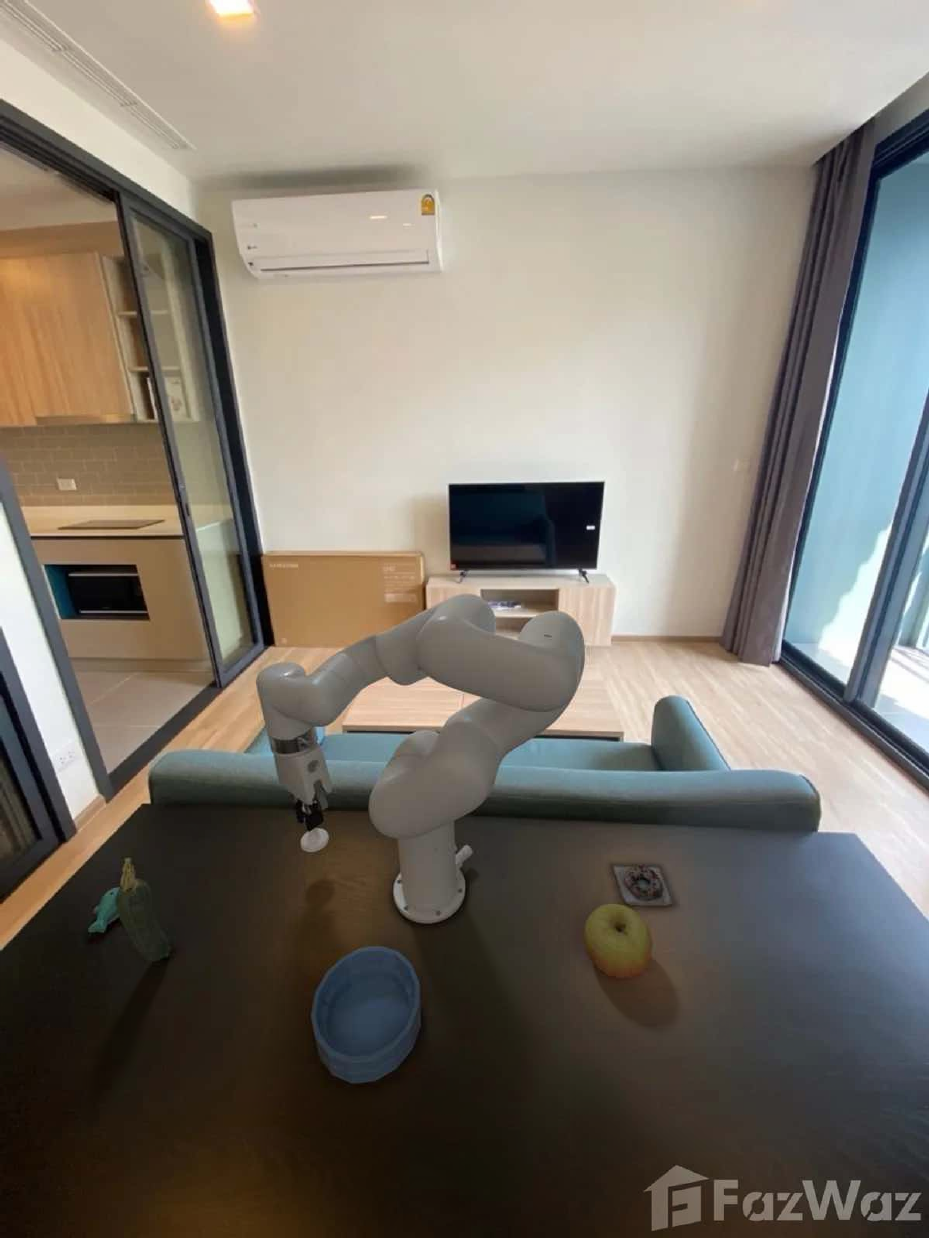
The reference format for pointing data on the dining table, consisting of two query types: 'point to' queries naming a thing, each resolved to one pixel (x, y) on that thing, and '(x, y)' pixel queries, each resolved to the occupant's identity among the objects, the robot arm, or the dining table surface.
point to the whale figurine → (105, 912)
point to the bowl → (367, 1014)
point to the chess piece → (314, 839)
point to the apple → (618, 941)
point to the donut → (642, 886)
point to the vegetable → (140, 915)
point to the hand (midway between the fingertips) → (311, 821)
